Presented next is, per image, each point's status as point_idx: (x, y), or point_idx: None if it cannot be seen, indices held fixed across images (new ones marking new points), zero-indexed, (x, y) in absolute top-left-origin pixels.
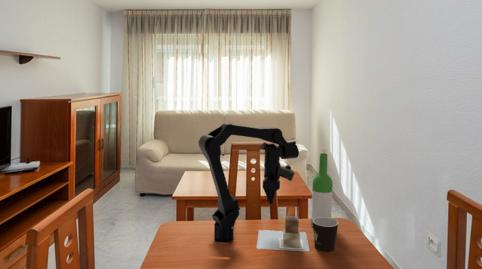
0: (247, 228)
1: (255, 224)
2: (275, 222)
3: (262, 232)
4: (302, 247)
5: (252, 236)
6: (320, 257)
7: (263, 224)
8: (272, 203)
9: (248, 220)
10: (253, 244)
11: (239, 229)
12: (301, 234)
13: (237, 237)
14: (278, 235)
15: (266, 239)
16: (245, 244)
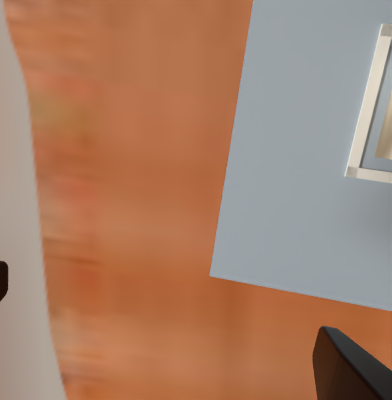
0: (167, 323)
1: (111, 275)
2: (76, 157)
3: (246, 261)
4: None
5: (275, 313)
6: None
7: (109, 232)
8: (340, 331)
9: (58, 303)
10: (381, 323)
11: (180, 363)
12: (292, 13)
13: (282, 385)
14: (297, 174)
15: (349, 254)
16: None
